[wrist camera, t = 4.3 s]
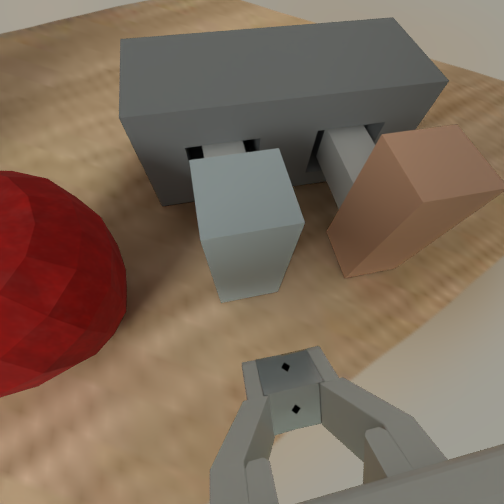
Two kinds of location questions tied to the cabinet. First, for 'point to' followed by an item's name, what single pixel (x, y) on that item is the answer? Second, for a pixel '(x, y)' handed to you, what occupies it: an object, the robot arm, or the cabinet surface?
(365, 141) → the terracotta plug
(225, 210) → the slate plug
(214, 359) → the cabinet surface
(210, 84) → the socket block
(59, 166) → the cabinet surface
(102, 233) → the apple
